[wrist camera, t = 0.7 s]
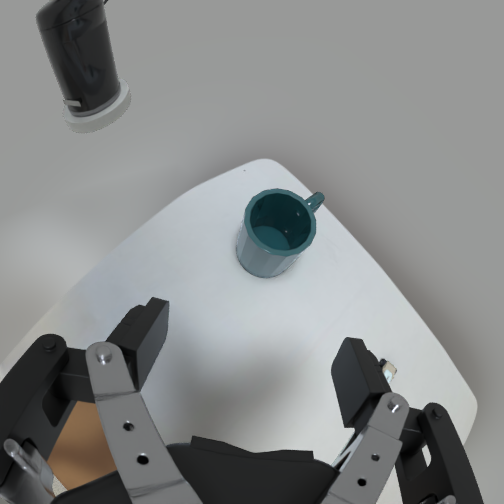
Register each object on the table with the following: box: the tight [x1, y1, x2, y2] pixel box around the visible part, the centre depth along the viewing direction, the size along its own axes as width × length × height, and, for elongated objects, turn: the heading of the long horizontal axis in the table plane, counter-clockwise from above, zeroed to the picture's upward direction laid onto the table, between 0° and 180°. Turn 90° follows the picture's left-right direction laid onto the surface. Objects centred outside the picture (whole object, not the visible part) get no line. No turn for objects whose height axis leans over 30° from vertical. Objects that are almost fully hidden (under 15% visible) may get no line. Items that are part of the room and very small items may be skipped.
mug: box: [236, 188, 324, 278], centre depth 28 cm, size 10×6×8 cm
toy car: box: [379, 359, 397, 386], centre depth 27 cm, size 3×4×2 cm, turn 139°
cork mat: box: [47, 401, 117, 490], centre depth 20 cm, size 14×14×1 cm
